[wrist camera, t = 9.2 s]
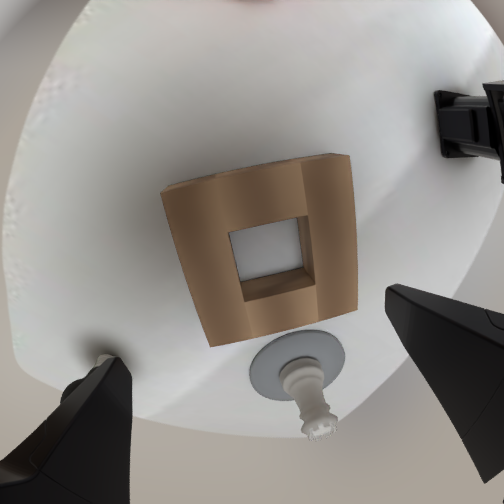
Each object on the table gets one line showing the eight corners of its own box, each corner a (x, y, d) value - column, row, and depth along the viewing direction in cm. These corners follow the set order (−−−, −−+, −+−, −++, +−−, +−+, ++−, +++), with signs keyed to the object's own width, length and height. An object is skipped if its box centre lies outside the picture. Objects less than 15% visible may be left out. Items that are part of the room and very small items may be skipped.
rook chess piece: (325, 372, 27) (352, 431, 19) (287, 390, 27) (306, 451, 19) (312, 348, 25) (342, 411, 18) (271, 367, 25) (288, 434, 18)
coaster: (343, 318, 25) (345, 321, 24) (341, 382, 29) (343, 385, 28) (240, 345, 24) (240, 349, 24) (258, 404, 28) (259, 408, 28)
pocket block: (331, 153, 19) (349, 155, 16) (343, 291, 24) (357, 309, 21) (168, 185, 18) (160, 193, 16) (210, 324, 23) (210, 347, 20)
